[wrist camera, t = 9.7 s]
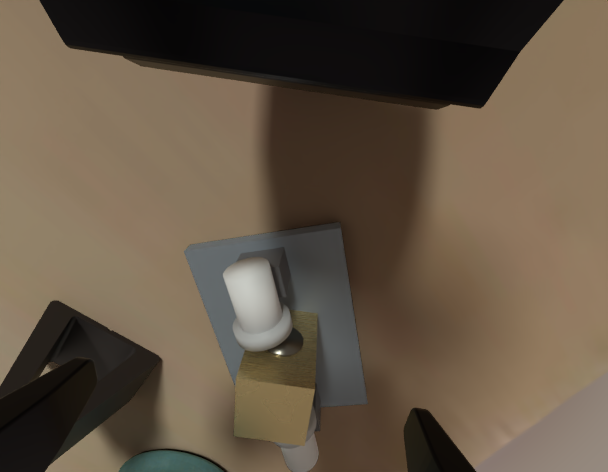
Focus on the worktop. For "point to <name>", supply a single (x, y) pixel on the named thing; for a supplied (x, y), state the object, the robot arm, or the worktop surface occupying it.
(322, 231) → the grey plate with pegs
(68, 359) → the phone stand
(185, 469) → the flower pot
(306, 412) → the tan block
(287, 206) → the worktop surface
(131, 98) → the worktop surface
